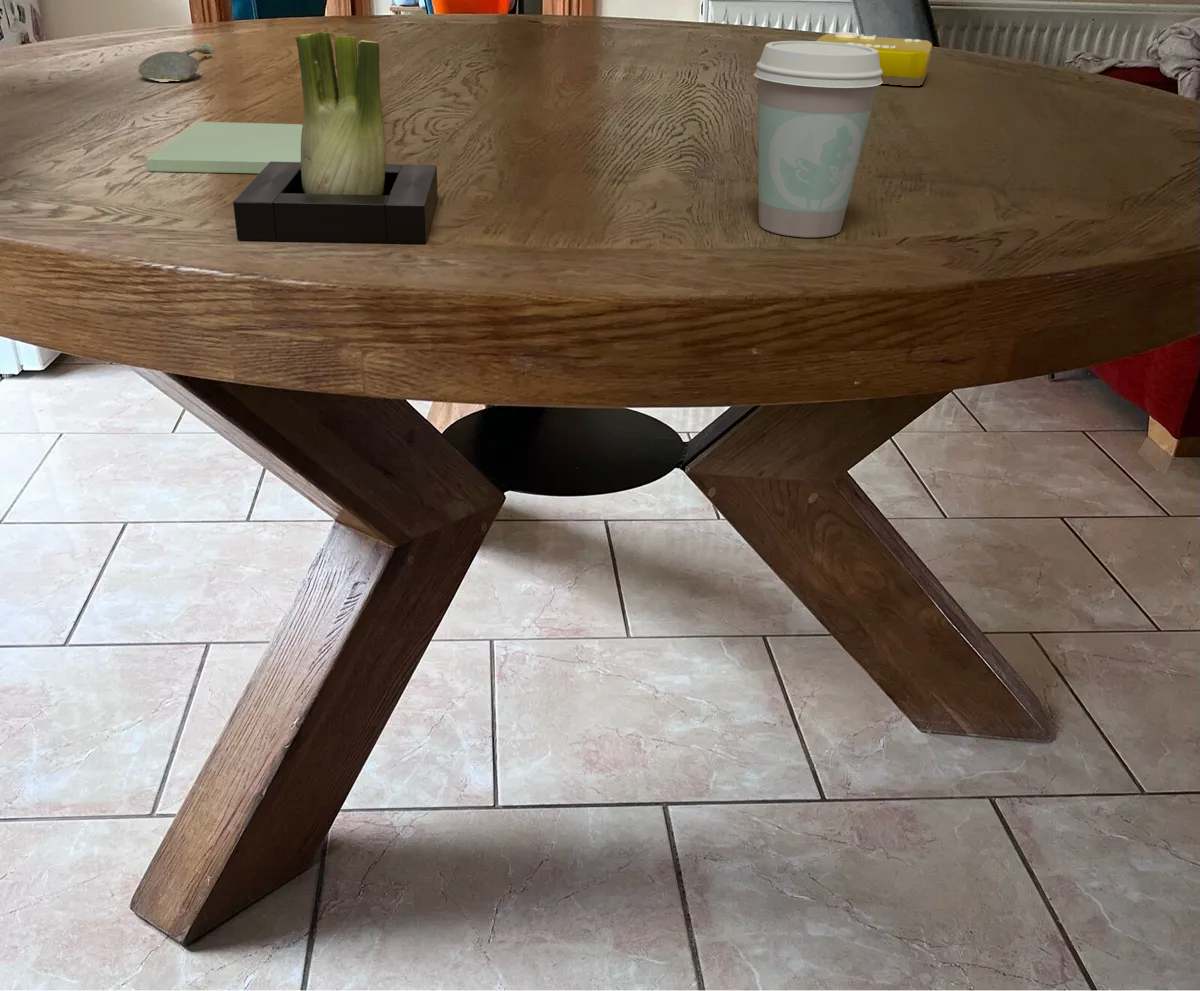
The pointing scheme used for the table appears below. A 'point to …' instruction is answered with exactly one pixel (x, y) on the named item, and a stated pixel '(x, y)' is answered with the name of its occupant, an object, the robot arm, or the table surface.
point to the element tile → (891, 52)
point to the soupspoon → (173, 64)
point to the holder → (337, 208)
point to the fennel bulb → (341, 116)
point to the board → (229, 148)
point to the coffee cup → (811, 132)
